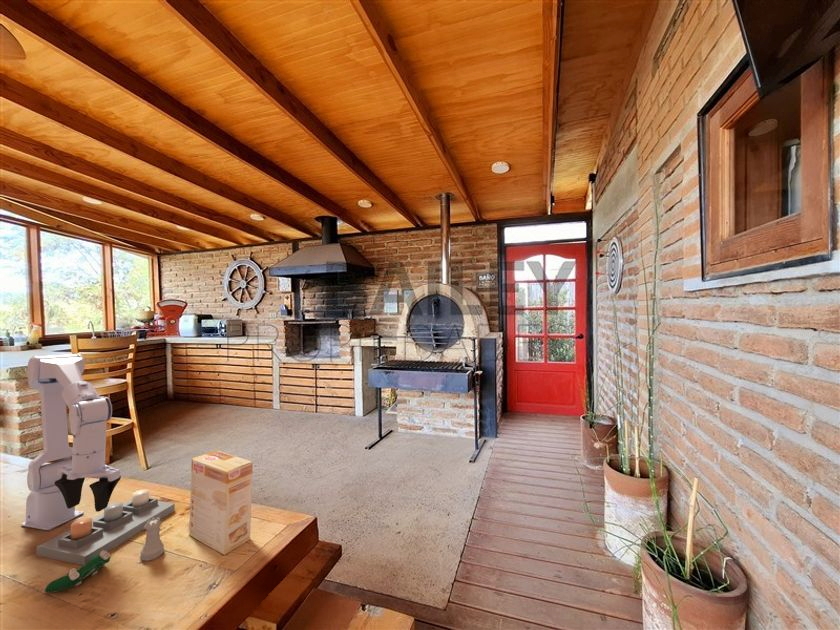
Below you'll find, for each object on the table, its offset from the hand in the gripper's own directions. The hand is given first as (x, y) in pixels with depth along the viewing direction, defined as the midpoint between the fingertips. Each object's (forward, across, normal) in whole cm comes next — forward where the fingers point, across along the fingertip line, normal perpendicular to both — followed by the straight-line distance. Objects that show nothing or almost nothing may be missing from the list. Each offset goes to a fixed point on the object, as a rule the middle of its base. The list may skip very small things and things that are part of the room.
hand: (87, 507), depth 81 cm
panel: (+9, 0, +6) cm, 11 cm away
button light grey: (+6, 0, +6) cm, 9 cm away
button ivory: (+6, 0, +13) cm, 15 cm away
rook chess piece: (+10, +17, 0) cm, 20 cm away
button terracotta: (+6, -1, -1) cm, 6 cm away
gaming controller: (+10, +9, -8) cm, 16 cm away
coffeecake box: (+10, +28, +8) cm, 31 cm away
